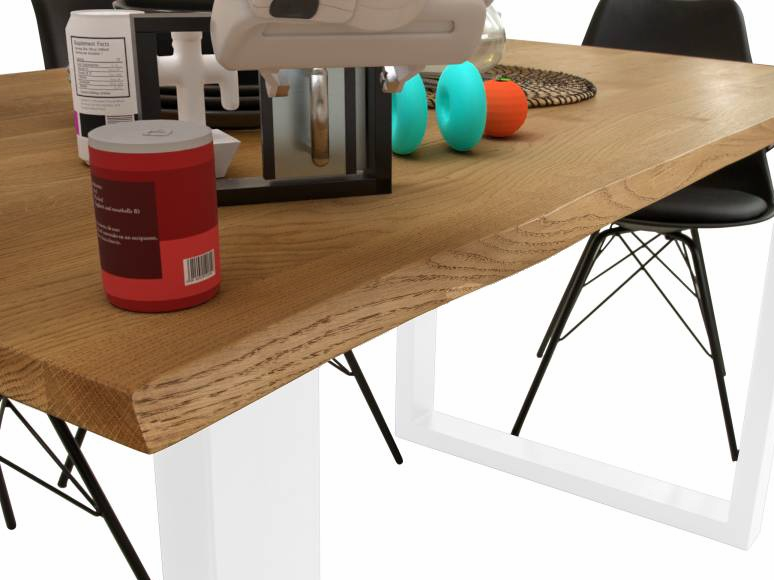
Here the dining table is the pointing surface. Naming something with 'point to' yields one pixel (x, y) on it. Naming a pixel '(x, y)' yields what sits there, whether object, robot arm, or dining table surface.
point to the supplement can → (100, 71)
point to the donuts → (441, 110)
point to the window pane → (310, 125)
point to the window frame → (251, 190)
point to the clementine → (504, 107)
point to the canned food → (156, 213)
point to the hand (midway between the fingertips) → (333, 88)
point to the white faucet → (200, 89)
